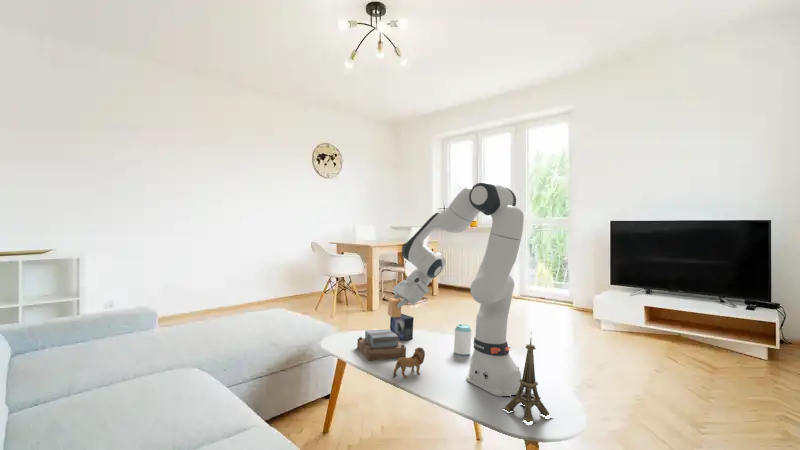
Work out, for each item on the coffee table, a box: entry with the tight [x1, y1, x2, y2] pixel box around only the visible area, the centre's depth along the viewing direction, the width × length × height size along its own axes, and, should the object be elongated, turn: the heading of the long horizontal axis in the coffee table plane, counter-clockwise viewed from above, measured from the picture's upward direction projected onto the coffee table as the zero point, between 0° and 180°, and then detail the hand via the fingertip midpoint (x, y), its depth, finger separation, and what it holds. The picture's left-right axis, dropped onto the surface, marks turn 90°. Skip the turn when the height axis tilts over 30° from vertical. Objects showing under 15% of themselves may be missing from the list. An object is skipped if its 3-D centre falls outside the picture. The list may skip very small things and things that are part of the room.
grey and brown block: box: [356, 328, 407, 362], centre depth 163 cm, size 16×16×8 cm
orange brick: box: [387, 297, 402, 318], centre depth 165 cm, size 5×4×7 cm
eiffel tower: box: [502, 331, 550, 422], centre depth 115 cm, size 11×11×25 cm
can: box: [453, 323, 472, 356], centre depth 167 cm, size 7×7×12 cm
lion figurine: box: [392, 346, 426, 379], centre depth 141 cm, size 15×5×9 cm, turn 133°
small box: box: [389, 313, 414, 342], centre depth 186 cm, size 11×6×10 cm, turn 42°
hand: (394, 305), depth 165 cm, fingers closed on orange brick, 5 cm apart
